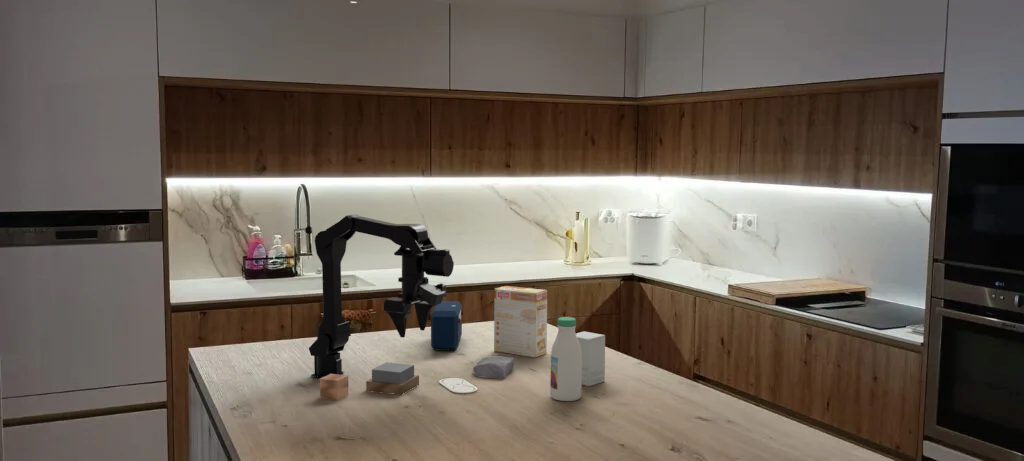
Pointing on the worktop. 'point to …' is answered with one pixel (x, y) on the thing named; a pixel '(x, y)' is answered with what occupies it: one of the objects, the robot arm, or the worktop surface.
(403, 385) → the tower base block
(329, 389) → the terracotta cube
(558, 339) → the milk bottle
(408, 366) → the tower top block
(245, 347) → the worktop surface
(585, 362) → the supplement box
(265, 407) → the worktop surface
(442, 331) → the radio
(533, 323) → the coffeecake box
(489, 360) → the stone block
